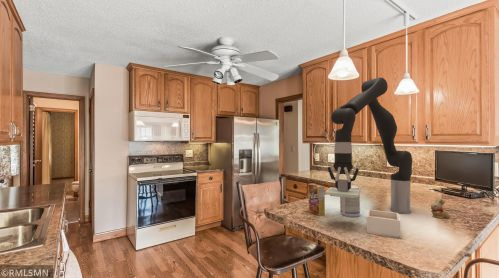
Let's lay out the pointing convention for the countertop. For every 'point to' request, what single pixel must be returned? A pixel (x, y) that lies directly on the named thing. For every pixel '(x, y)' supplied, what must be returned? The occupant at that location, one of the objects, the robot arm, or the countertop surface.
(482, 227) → the countertop surface
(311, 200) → the candy box
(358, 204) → the supplement tub
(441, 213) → the chocolate bunny
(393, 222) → the storage box
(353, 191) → the lid
